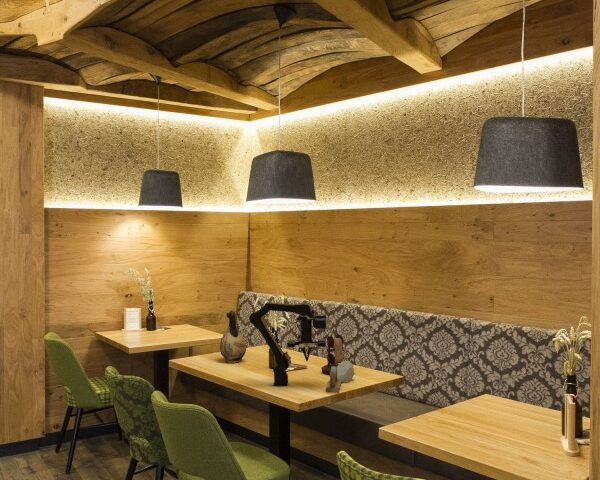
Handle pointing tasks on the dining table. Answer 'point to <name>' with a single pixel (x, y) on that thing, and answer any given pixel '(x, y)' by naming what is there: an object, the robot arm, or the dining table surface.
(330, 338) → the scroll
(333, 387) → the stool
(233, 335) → the ceramic jug
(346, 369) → the decorative stone
